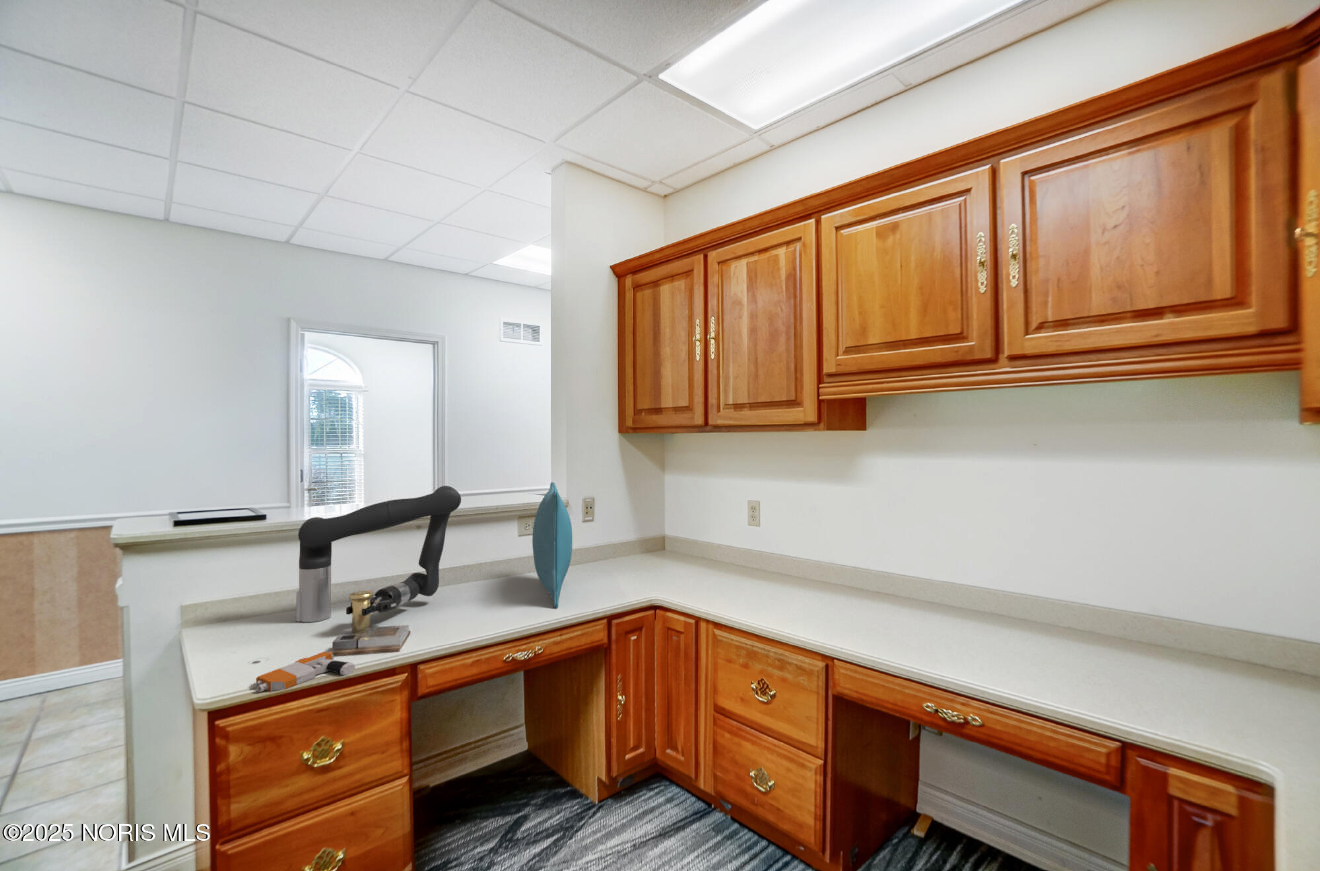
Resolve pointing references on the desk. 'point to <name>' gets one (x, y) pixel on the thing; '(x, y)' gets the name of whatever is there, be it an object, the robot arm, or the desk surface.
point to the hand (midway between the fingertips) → (355, 611)
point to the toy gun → (302, 672)
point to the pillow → (552, 542)
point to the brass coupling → (360, 611)
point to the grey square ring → (346, 642)
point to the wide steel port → (383, 637)
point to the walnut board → (369, 650)
